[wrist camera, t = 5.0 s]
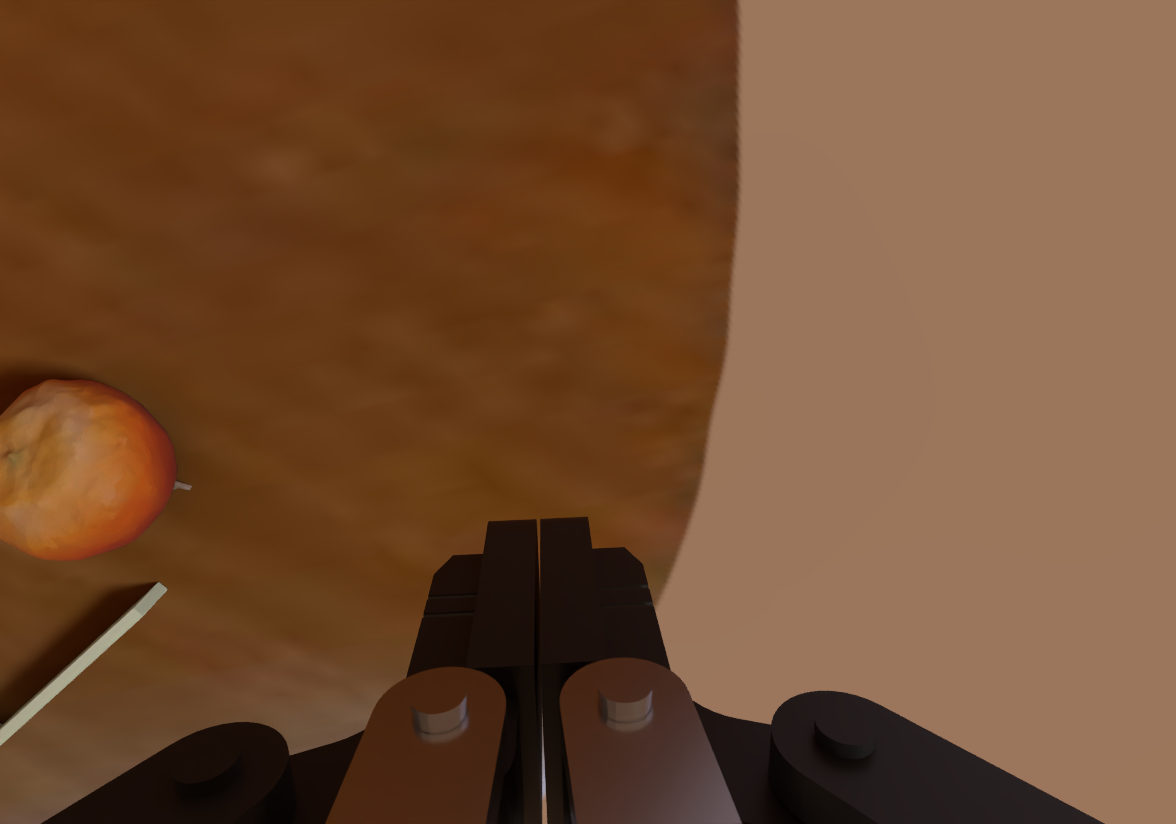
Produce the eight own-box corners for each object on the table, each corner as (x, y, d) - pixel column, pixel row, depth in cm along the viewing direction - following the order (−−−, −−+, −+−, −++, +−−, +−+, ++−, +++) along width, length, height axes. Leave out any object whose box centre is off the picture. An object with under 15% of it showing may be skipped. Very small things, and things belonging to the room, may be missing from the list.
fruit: (102, 584, 37) (-58, 590, 29) (70, 440, 39) (-87, 411, 31) (244, 522, 37) (121, 512, 29) (206, 380, 38) (79, 335, 31)
